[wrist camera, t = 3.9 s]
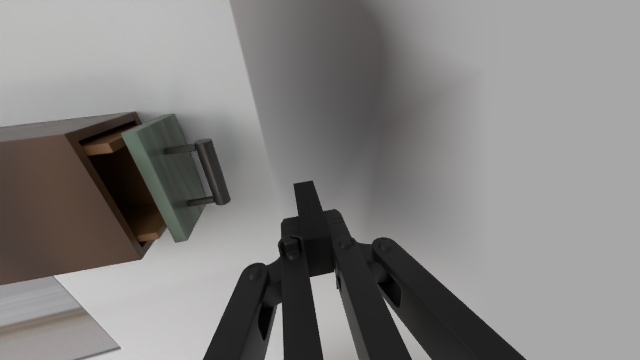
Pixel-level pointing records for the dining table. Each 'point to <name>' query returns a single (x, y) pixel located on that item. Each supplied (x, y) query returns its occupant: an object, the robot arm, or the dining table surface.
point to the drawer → (156, 176)
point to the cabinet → (59, 202)
